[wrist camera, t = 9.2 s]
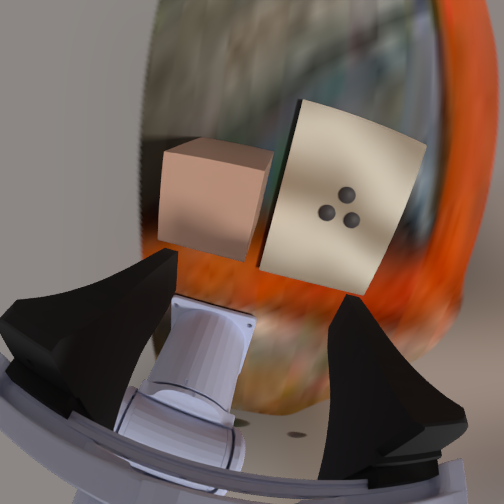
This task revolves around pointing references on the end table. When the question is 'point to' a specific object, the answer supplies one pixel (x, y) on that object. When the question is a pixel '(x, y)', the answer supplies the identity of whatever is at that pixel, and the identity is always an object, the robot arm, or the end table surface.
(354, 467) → the robot arm
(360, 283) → the birch board
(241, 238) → the salmon cube
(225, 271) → the end table surface
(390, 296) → the end table surface
